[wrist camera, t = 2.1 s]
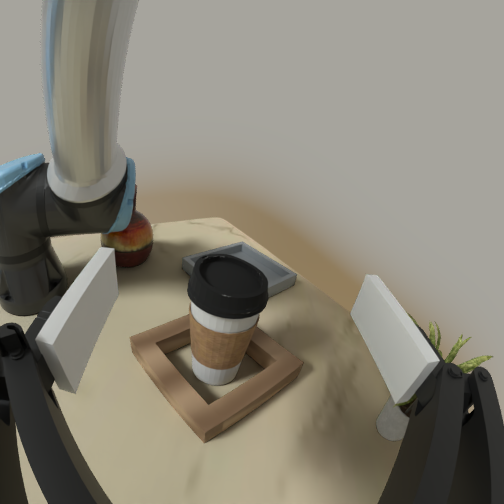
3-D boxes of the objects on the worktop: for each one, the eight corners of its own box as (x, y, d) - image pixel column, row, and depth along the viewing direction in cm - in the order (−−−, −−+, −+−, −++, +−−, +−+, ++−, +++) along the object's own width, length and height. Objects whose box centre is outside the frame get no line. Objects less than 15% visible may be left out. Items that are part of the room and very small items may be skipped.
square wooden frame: (132, 352, 34) (129, 337, 32) (221, 314, 44) (223, 300, 43) (204, 442, 24) (204, 432, 23) (297, 376, 35) (303, 362, 34)
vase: (160, 250, 59) (163, 182, 53) (141, 277, 50) (140, 197, 43) (117, 242, 59) (116, 176, 52) (93, 265, 49) (87, 190, 42)
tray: (181, 268, 55) (182, 257, 53) (240, 251, 65) (242, 241, 64) (234, 313, 45) (236, 301, 44) (294, 284, 56) (297, 274, 55)
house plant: (314, 421, 29) (373, 325, 21) (370, 370, 37) (419, 281, 30) (396, 486, 19) (496, 410, 12) (437, 418, 28) (505, 337, 21)
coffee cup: (210, 337, 39) (224, 244, 33) (258, 367, 36) (287, 274, 29) (169, 366, 33) (171, 267, 26) (220, 405, 29) (242, 308, 23)
